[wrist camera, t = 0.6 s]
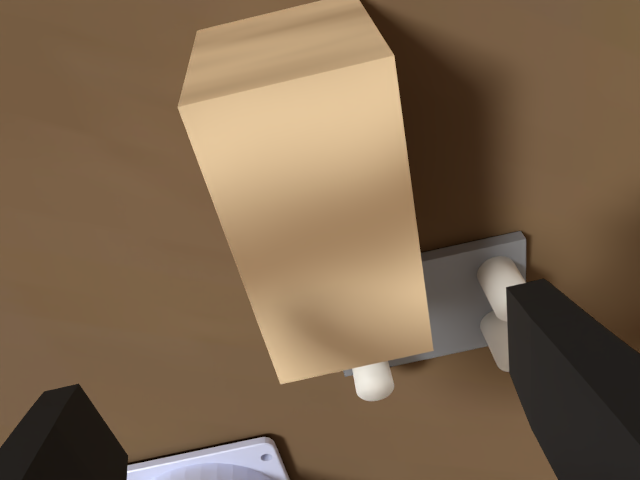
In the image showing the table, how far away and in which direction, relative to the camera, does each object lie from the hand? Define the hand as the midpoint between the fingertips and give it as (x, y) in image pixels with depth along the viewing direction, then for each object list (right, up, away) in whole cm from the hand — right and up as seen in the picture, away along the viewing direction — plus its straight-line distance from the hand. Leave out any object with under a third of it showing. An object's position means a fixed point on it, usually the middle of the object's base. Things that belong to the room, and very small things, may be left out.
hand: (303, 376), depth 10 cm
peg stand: (+4, 0, +13) cm, 13 cm away
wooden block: (0, +5, +9) cm, 10 cm away
